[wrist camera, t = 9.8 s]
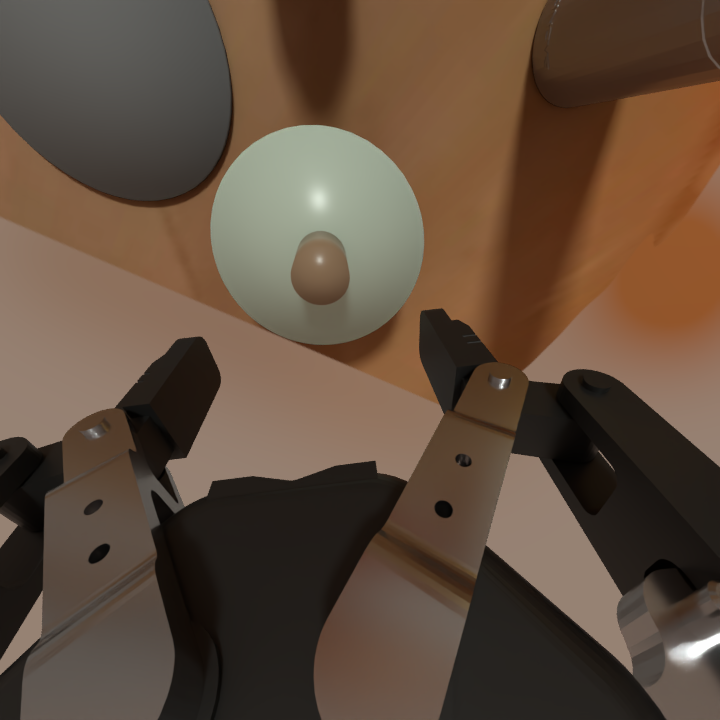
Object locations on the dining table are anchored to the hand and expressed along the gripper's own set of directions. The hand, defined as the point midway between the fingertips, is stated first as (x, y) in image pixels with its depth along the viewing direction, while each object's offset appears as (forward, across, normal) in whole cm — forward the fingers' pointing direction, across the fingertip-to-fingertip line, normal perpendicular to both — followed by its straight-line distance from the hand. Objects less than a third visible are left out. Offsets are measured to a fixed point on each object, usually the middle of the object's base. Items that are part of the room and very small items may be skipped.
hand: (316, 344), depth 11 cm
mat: (+24, +15, -13) cm, 31 cm away
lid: (+16, 0, +1) cm, 16 cm away
